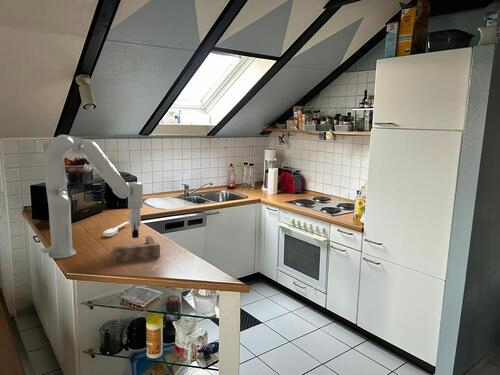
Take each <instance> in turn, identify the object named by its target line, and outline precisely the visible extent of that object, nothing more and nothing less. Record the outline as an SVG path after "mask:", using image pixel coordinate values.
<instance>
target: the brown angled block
mask: <svg viewBox="0 0 500 375" xmlns="http://www.w3.org/2000/svg"><path fill="white" fill-rule="evenodd" d="M112 256H113V257H112V258H113V259H112V260H113V263H119V262H121V263H122V262H128V261H135V260H146V259H154V258H160V257H161V246H160V243H159V242H156V241H155V240H154V238H153V236H151V235H146V236H145V244H137V245H135V244H134V245H127V246H117V247H112Z"/></svg>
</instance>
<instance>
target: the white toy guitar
mask: <svg viewBox="0 0 500 375" xmlns="http://www.w3.org/2000/svg"><path fill="white" fill-rule="evenodd" d="M127 224H130V223H129V221H124V222H123V223H121V224H119V225H118V226H115V227H112V228H108V229H106V230H104V231H103V232H102V235H103V237H105V238H106V237H107V238H108V237H110V238H111V237H113V236H115V235H117V234H118V232H119V230H118V229H119V228H121V227H123V226H125V225H127Z"/></svg>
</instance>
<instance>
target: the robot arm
mask: <svg viewBox="0 0 500 375" xmlns="http://www.w3.org/2000/svg"><path fill="white" fill-rule="evenodd" d="M68 153H69V154H70V153H71V154H76V155H80V156H83V157H84V158H85V160H87V162H88V163H89V164H90V165H91V167H92V168H93V169H94V171H95V173H96V174H98V175H99V177H100V178H102V179H103V180H104V181H105V183H107V184H108V186H109V187H110V188H111V190H112V192H113V194H114V195H115V196H117V197H118V198H120V199H126V198H127V201H128V202H127V209H129V215H128V216H129V219H128V220H129V221H128V222H129V223H128V224H129V225H130V227H131V228H132V230H131V238H132V239H138V238H139V227H140V226H141V213H142V212H141V209H142V208H143V207H144V206H143V205H144V202H143V200H144V197H143V195H144V193H143V192H144V188H143V186H144V185H143V183H142V182H140V181H130V182H129V181H127V182H126V180H125V179H124V178H123V177H122V176H121V174H120V173H119V171H117V169H116V168H115V166H114V164H113V163H112V162H111V161H110V160H109V158H108V157H107V156H106V155H105V153H104V152H103V150H102V149H101V148H100V146H99V145H98V144H97V143H96V142H95V141H93V140H90V139H88V138H87V139H86V138H81V137H78V136H77V137H76V136H72V135H67V134H59V135H57V136H56V137H55V139H54V140H52V141H51V142H50V143H49V144H48V146H47V147H46V149H45V152H44V168H45V176H44V177H45V178H44V179H45V180H44V183H45V188H46V196H47V203H48V204H47V205H48V216H49V219H48V220H49V231H50V244H51V245H50V246H49V247H44V248H42V247H41V253H43V254H48V257H49V258H51V259H55V260H57V259H58V260H59V259H65V258H70V257H72V256H75V255H76V253H77V250H76V249H75V248H73V234H72V230H73V229H72V214H71V213H72V212H71V209H72V208H71V207H72V206H71V199H70V197H69V195H68V194H69V193H68V184H67V183H68V178H67V174H66V167H65V165H66V164H65V157H66V155H67V154H68Z"/></svg>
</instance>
